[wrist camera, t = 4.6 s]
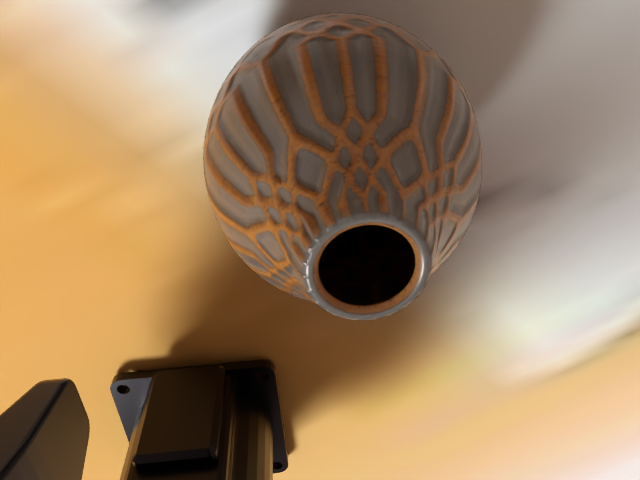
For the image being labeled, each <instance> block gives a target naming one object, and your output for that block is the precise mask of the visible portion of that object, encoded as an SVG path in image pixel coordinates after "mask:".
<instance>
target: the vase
mask: <svg viewBox="0 0 640 480" xmlns="http://www.w3.org/2000/svg"><path fill="white" fill-rule="evenodd" d="M203 160H204V174H205V182H206V187H207V192H208V196H209V199H210V202H211V205H212V209H213V211H214V214H215V216H216V219H217V221H218V223H219V225H220V227H221V229H222V231H223V233H224V235H225V236H226V238H227V240H228V241H229V243H230V244H231V246H232V248H233V249H234V250H235V252H236V253H237V254H238V255H239V257H240V258H241V259H242V260H243V261H244V262H245V263H246V264H247V265H248V266H249V267H250V268H251V269H252V270H253V271H254V272H255V273H256V274H257V275H259V276H260V277H261V278H262V279H264V280H265V281H267V282H268V283H270V284H271V285H273V286H275V287H276V288H278V289H280V290H282V291H284V292H286V293H288V294H290V295H292V296H295V297H298V298H300V299H303V300H307V301H311V302H314V303H316V304H317V305H318V306H320V307H321V308H323V309H324V310H326V311H327V312H329V313H331V314H333V315H336V316H338V317H342V318H346V319H351V320H372V319H378V318H382V317H385V316H388V315H391V314H393V313H396V312H398V311H399V310H401V309H403V308H404V307H406V306H407V305H409V304H410V303H411V302H412V301H413V300H414V299H416V298H417V296H418V295H419V294H420V293H421V292H422V290H423V289H424V287H425V286H426V284H427V282H428V280H429V278H430V275H431V274H432V273H433V272H434V271H436V270H437V269H438V268H439V267H440V266H441V265H442V264H443V263H444V262H445V261H446V260H447V258H448V257H449V256H450V255H451V254H452V252H453V251H454V250H455V248H456V247H457V245H458V244H459V242H460V241H461V239H462V237H463V236H464V234H465V232H466V230H467V228H468V226H469V224H470V222H471V219H472V217H473V214H474V211H475V208H476V204H477V201H478V196H479V192H480V185H481V175H482V153H481V142H480V136H479V131H478V126H477V121H476V118H475V115H474V111H473V109H472V107H471V104H470V102H469V99H468V97H467V95H466V93H465V91H464V89H463V87H462V85H461V84H460V82H459V80H458V79H457V77H456V76H455V75H454V73H453V72H452V71H451V69H450V68H449V67H448V66H447V64H446V63H445V62H444V61H443V60H442V59H441V58H440V57H439V55H438V54H436V53H435V52H434V51H433V50H432V49H431V48H430V47H429V46H427V45H426V44H425V43H423V42H422V41H421V40H419V39H418V38H417V37H415V36H414V35H412V34H411V33H409V32H407V31H406V30H404V29H402V28H400V27H398V26H396V25H393V24H391V23H389V22H386V21H384V20H381V19H377V18H374V17H370V16H366V15H360V14H353V13H328V14H320V15H315V16H310V17H306V18H303V19H299V20H296V21H294V22H291V23H288V24H286V25H284V26H282V27H280V28H278V29H276V30H275V31H273V32H271V33H269V34H268V35H266V36H265V37H264V38H262V39H261V40H259V41H258V42H257V43H256V44H255V45H253V46H252V47H251V48H250V49H249V50H248V51H247V52H246V53H245V54H244V55H243V56H242V57H241V59H240V60H239V61H238V62H237V63H236V65H235V66H234V67H233V69H232V70H231V72H230V73H229V74H228V76H227V78H226V79H225V81H224V83H223V84H222V86H221V88H220V90H219V92H218V94H217V97H216V99H215V102H214V104H213V107H212V109H211V113H210V116H209V119H208V124H207V129H206V134H205V141H204V154H203Z"/></svg>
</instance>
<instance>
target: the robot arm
mask: <svg viewBox="0 0 640 480" xmlns="http://www.w3.org/2000/svg"><path fill="white" fill-rule="evenodd" d="M261 371H264V372H267V373H264V374H262V373H259V372H261ZM122 385H126V386H128V387H125V386H122ZM110 389H111V393H112V396H113V399H114V402H115V404H116V407H117V410H118V413H119V416H120V418H121V421H122V424H123V427H124V430H125V432H126V435H127V438H128V441H129V447H128V451H127V454H126V458H125V462H124V466H123V469H122V473H121V477H120V480H273V473H279V472H283V471H285V470H286V469H287V468H288V454H287V447H286V440H285V432H284V425H283V418H282V411H281V404H280V397H279V390H278V383H277V376H276V369H275V366H274V364H273V363H272V362H270V361H268V360H253V361H243V362H232V363H222V364H211V365H201V366H190V367H180V368H169V369H159V370H148V371H137V372H127V373H120V374H117V375H116V376H115V377H114V378H113V381H112V384H111V387H110ZM89 429H90V427H89V419H88V416H87V413H86V411H85V408H84V406H83V403H82V401H81V398H80V396H79V393H78V391H77V388H76V386H75V384H74V382H73V381H72V380H70V379H67V378H64V379H53V380H44V381H41V382H39V383H37V384H36V385H35V386H33V387H32V388H31V389H30V390H29V391H28V392H26V393H25V394H24V395H23V396H22V397H21V398H20V399H18V400H17V401H16V402H15V403H14V404H13V405H11V406H10V407H9V408H8V409H7V410H6V411H5V412H3V413H2V414H1V415H0V480H81V479H82V474H83V468H84V462H85V456H86V450H87V445H88V439H89Z"/></svg>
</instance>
